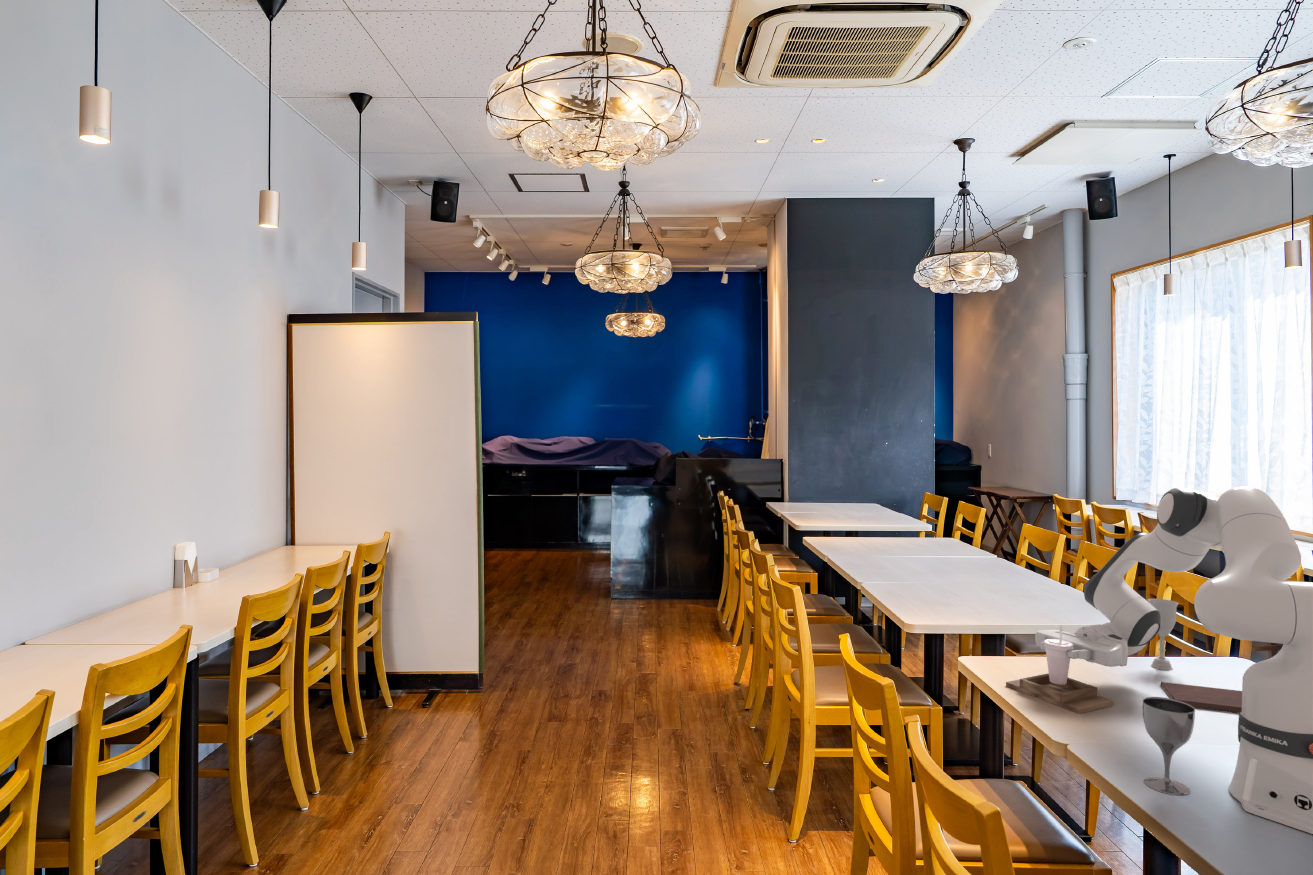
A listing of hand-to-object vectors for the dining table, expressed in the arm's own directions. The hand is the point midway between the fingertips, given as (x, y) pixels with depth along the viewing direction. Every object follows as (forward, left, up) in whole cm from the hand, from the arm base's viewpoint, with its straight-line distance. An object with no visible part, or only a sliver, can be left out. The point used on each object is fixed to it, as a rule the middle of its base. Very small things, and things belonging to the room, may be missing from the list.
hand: (1056, 650), depth 185 cm
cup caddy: (0, -1, -11) cm, 11 cm away
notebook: (-18, -32, -12) cm, 39 cm away
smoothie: (0, -1, -8) cm, 8 cm away
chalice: (+3, -47, -11) cm, 48 cm away
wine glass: (-40, +23, -11) cm, 48 cm away
